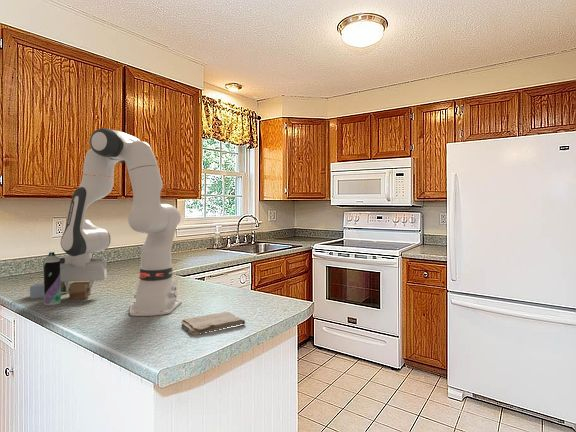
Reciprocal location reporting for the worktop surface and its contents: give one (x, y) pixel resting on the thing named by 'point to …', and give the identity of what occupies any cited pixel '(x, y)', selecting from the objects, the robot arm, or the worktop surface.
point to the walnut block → (79, 290)
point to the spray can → (52, 280)
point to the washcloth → (211, 322)
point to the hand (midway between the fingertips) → (80, 291)
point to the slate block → (37, 290)
